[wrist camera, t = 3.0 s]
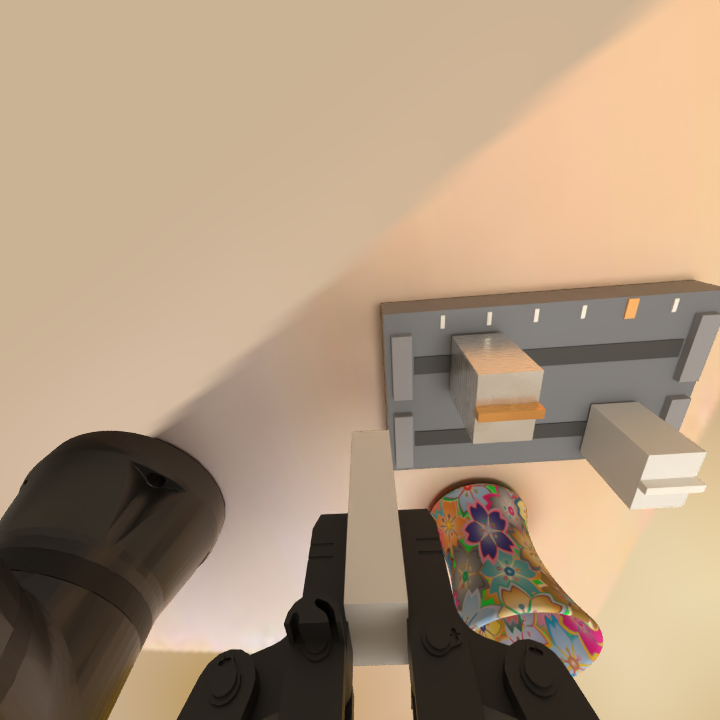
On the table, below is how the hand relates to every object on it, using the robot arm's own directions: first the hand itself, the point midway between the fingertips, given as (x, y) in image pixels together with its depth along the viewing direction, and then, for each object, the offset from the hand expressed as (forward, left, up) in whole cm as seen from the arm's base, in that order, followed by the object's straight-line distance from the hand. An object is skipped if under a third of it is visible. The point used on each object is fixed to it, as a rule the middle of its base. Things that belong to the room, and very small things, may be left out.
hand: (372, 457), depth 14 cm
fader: (+7, 0, -8) cm, 10 cm away
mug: (+9, -17, -11) cm, 23 cm away
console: (+11, -2, -11) cm, 16 cm away
